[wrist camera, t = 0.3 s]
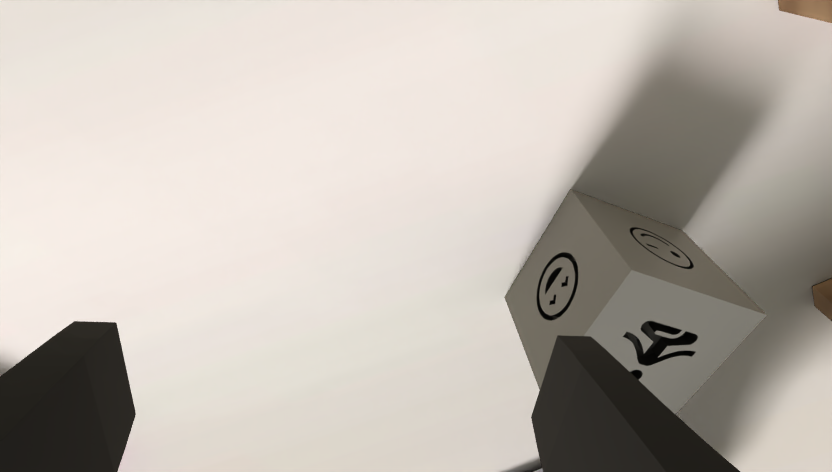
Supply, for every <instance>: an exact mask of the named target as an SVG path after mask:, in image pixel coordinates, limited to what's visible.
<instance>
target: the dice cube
mask: <svg viewBox="0 0 832 472" xmlns="http://www.w3.org/2000/svg"><path fill="white" fill-rule="evenodd" d="M505 300H506V302H507V305H508V308H509V310H510V313H511V315H512V318H513V321H514V323H515V326H516V329H517V331H518V334H519V336H520V339H521V342H522V344H523V347H524V350H525V352H526V355H527V358H528V360H529V363H530V365H531V368H532V371H533V373H534V376H535V379H536V381H537V384H538V386H539V389H540V388H541V385H542V382H543V379H544V376H545V373H546V370H547V366H548V363H549V360H550V357H551V354H552V351H553V348H554V345H555V341H556V338H557V335H562V336H591V337H592V338H593V339H594V340H596V341H597V342H598V343H599V344H600V345H601V346H602V347H603V348H605V349H606V350H607V351H608V352H609V353H610V354H611V355H612V356H613V357H614V358H615V359H616V360H618V361H619V362H620V363H621V364H622V365H623V366H624V367H625V368H626V369H627V370H628V371H629V372H630V373H631V374H632V375H633V376H635V377H636V378H637V379H638V380H639V381H640V382H641V383H642V384H643V385H644V386H645V387H646V388H647V389H648V390H649V391H650V392H652V393H653V394H654V395H655V396H656V397H657V398H658V399H659V400H660V401H661V402H662V403H663V404H664V405H665V406H667V407H668V408H669V409H670V410H671V411H672V412H673V413H674V414H676V413H677V412H678V411H679V410H680V409H681V408H682V407H683V406H684V405H685V404H686V403H687V401H688V400H689V399H690V398H691V397H692V396H693V395H694V394H695V393H696V392H697V391H698V390H699V388H700V387H701V386H702V385H703V384H704V383H705V382H706V381H707V380H708V379H709V378H710V376H711V375H712V374H713V373H714V372H715V371H716V370H717V369H718V368H719V367H720V366H721V365H722V363H723V362H724V361H725V360H726V359H727V358H728V357H729V356H730V355H731V354H732V353H733V352H734V350H735V349H736V348H737V347H738V346H739V345H740V344H741V343H742V342H743V341H744V340H745V338H746V337H747V336H748V335H749V334H750V333H751V332H752V331H753V330H754V329H755V328H756V327H757V325H758V324H759V323H760V322H761V321H762V320H763V319H764V318H765V317H766V316H767V314H766V313H765V312H764V311H763V310H762V309H761V308H760V307H759V306H758V305H757V304H756V303H755V302H754V301H753V300H752V299H751V298H749V297H748V296H747V295H746V294H745V293H744V292H743V291H742V290H741V289H740V288H739V287H738V286H737V285H736V284H735V283H734V282H733V281H732V280H731V279H730V278H729V277H728V276H727V275H726V274H725V273H724V272H723V271H722V270H721V269H720V268H719V267H718V266H717V265H716V264H715V263H714V262H713V261H712V260H711V259H710V258H709V257H708V256H707V255H706V254H705V253H704V252H703V251H702V250H701V249H700V248H699V247H698V246H697V245H696V244H695V243H694V242H693V241H692V240H691V239H690V238H689V237H688V236H687V235H686V234H685V233H684V232H683V231H682V230H679V229H677V228H674V227H671V226H668V225H666V224H663V223H660V222H658V221H655V220H652V219H650V218H647V217H644V216H641V215H639V214H636V213H633V212H631V211H628V210H625V209H623V208H620V207H617V206H615V205H612V204H609V203H606V202H604V201H601V200H598V199H596V198H593V197H590V196H588V195H585V194H582V193H579V192H577V191H574V190H571V189H570V191H569V192H568V194H567V196H566V197H565V199H564V201H563V202H562V204H561V206H560V207H559V209H558V211H557V212H556V214H555V215H554V217H553V219H552V220H551V222H550V224H549V225H548V227H547V229H546V230H545V232H544V233H543V235H542V237H541V238H540V240H539V242H538V243H537V245H536V247H535V248H534V250H533V252H532V253H531V255H530V256H529V258H528V260H527V261H526V263H525V265H524V266H523V268H522V270H521V271H520V273H519V274H518V276H517V278H516V279H515V281H514V283H513V284H512V286H511V288H510V289H509V291H508V293H507V294H506V296H505Z"/></svg>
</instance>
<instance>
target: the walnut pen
mask: <svg viewBox="0 0 832 472" xmlns="http://www.w3.org/2000/svg"><path fill="white" fill-rule="evenodd" d="M778 4H779V10H780V11H784V12H788V13H792V14H796V15H800V16H805V17H809V18H813V19H817V20H821V21H825V22H829V23H832V0H778ZM812 288H813V297H814V305H815V307H816V308H817V309H818V310H820V311H821V312H822V313H823V314H824V315H825V316H827V317H828V318H829V319H830V320H831V321H832V279H829V280H827V281H824V282H822V283H820V284H817V285H815V286H812Z"/></svg>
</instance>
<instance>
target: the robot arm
mask: <svg viewBox="0 0 832 472" xmlns="http://www.w3.org/2000/svg"><path fill="white" fill-rule="evenodd" d="M135 415H136V413H135V408H134V404H133V399H132V394H131V390H130V385H129V380H128V376H127V371H126V366H125V362H124V357H123V352H122V347H121V343H120V338H119V333H118V329H117V324H116V323H112V322H77V321H74V322H73V323H72V324H70V325H69V326H67V327H66V328H64V329H63V330H62V331H60V332H59V333H58V334H56V335H55V336H53V337H52V338H51V339H49V340H48V341H47V342H45V343H44V344H43V345H41V346H40V347H39V348H37V349H36V350H35V351H33V352H32V353H31V354H29V355H28V356H27V357H26V358H24V359H23V360H22V361H20V362H19V363H18V364H16V365H15V366H14V367H12V368H11V369H10V370H8V371H7V372H6V373H4V374H3V375H2V376H0V472H117V471H118V468H119V465H120V462H121V459H122V456H123V453H124V450H125V447H126V444H127V441H128V437H129V434H130V431H131V428H132V424H133V421H134V418H135ZM531 418H532V423H533V428H534V433H535V438H536V443H537V448H538V452H539V456H540V461H541V465H542V468H541V469H538V470H536V471H533V472H740V471H739V470H738V469H737V468H735V467H734V466H733V465H732V464H731V463H729V462H728V461H727V460H726V459H725V458H723V457H722V456H721V455H720V454H719V453H718V452H717V451H715V450H714V449H713V448H712V447H711V446H710V445H709V444H707V443H706V442H705V441H704V440H703V439H702V438H701V437H699V436H698V435H697V434H696V433H695V432H694V431H693V430H692V429H691V428H689V427H688V426H687V425H686V424H685V423H684V422H683V421H682V420H681V419H680V418H678V417H677V416H676V415H675V414H674V413H673V412H672V411H671V410H670V409H669V408H668V407H667V406H665V405H664V404H663V403H662V402H661V401H660V400H659V399H658V398H657V397H656V396H655V395H654V394H653V393H652V392H650V391H649V390H648V389H647V388H646V387H645V386H644V385H643V384H642V383H641V382H640V381H639V380H638V379H637V378H636V377H635V376H633V375H632V374H631V373H630V372H629V371H628V370H627V369H626V368H625V367H624V366H623V365H622V364H621V363H620V362H619V361H618V360H616V359H615V358H614V357H613V356H612V355H611V354H610V353H609V352H608V351H607V350H606V349H605V348H603V347H602V346H601V345H600V344H599V343H598V342H597V341H596V340H594V339H593V338H592V337H591V336H562V335H557V338H556V341H555V345H554V348H553V351H552V354H551V357H550V360H549V363H548V366H547V370H546V373H545V376H544V379H543V382H542V385H541V388H540V391H539V395H538V398H537V401H536V404H535V407H534V410H533V413H532V417H531Z"/></svg>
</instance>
